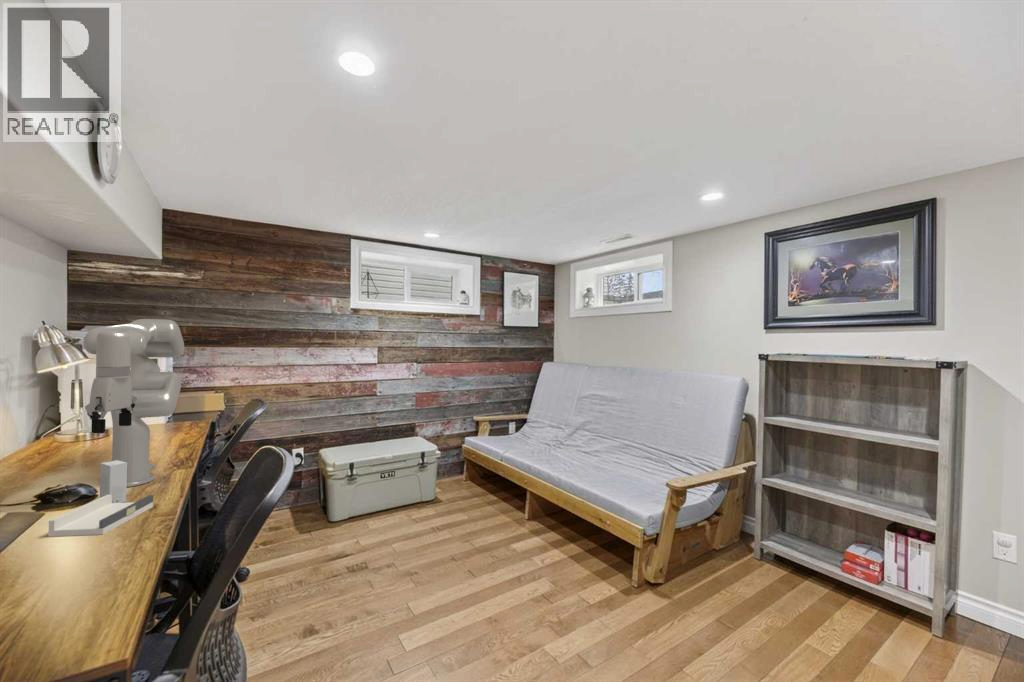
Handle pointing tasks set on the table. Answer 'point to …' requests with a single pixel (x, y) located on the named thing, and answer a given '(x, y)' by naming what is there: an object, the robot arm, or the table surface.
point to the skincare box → (114, 480)
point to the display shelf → (90, 518)
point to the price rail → (125, 511)
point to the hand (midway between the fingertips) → (112, 429)
